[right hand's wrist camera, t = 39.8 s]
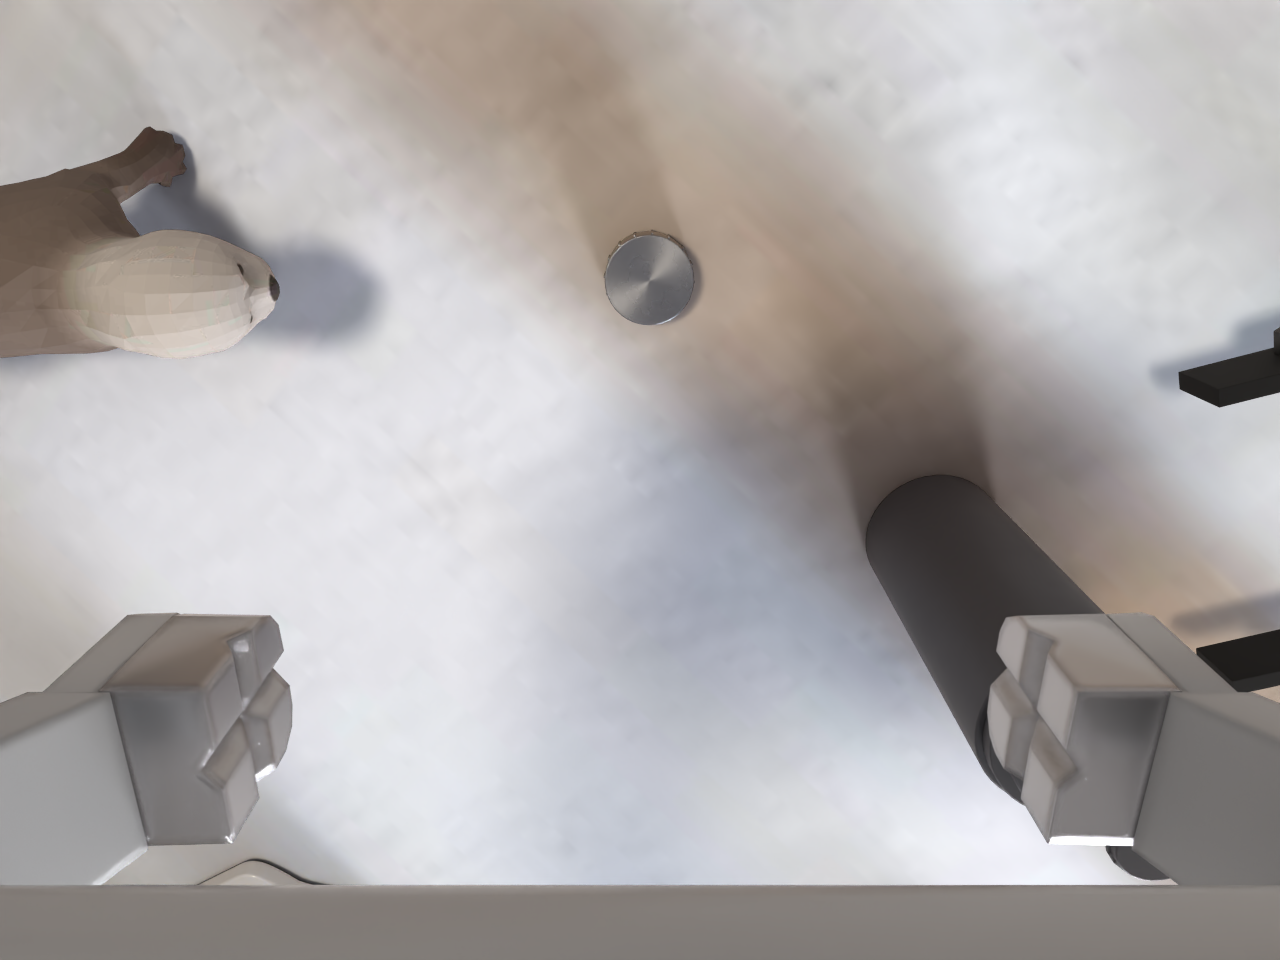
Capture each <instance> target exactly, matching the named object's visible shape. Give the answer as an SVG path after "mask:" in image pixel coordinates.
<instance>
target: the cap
mask: <svg viewBox="0 0 1280 960" xmlns="http://www.w3.org/2000/svg"><path fill="white" fill-rule="evenodd" d="M608 260H609V261H608V264H607V268H606V272H605V274H604V278H605V288H606V294H607V295H608V298H609V300H610V302H611V304H612V305H613V307H614V308H615V310H617V312H618V313H619V314H621V315H622V316H623V317H625V318H626V319H628V320H630V321H632V322H634V323H637V324H642V325H656V324H661V323H664V322H667V321H669V320H671V319H672V318H674V317H675V316H677V315H678V314H679V313H680V312H681V311H682V310H683V309H684V307H685V306H686V305H687V303H688V301H689V300H690V297H691V294H692V290H693V284H694V282H695V281H694V275H693V269H692V265H693V264H692V262H691V260H689V258H688V256H687V254H686V252H685V251H684V247H683V245H680V244H679V243H678V242H677V241H676V240H674V239H673V238H671V237H670V235H669V234H668V235H666V234H663V233H660V232H655V231H653V230H651V231H643V232H638V233H636V232H634V234H632V235H630V236H628V237H627V238H625V239H624V240H622V241H619V244H618V245H617V246H616V248H615V249H614V251H613V252H612V254H611V255H609V257H608Z"/></svg>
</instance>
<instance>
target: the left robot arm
mask: <svg viewBox="0 0 1280 960" xmlns="http://www.w3.org/2000/svg"><path fill="white" fill-rule="evenodd" d="M1179 385H1180V389H1181V390H1183V391H1185V392H1187V393H1189V394H1191V395H1194V396H1196V397H1198V398H1200V399H1202V400H1204V401H1207V402H1209V403H1211V404H1213V405H1215V406H1217V407H1223V406H1227V405H1231V404H1235V403H1239V402H1243V401H1247V400H1251V399H1255V398H1259V397H1263V396H1267V395H1271V394H1275V393H1279V392H1280V328H1278V329H1276V330H1275V331H1274V348H1271V349H1267V350H1263V351H1259V352H1255V353H1251V354H1247V355H1243V356H1240V357H1236V358H1232V359H1228V360H1224V361H1220V362H1216V363H1212V364H1208V365H1204V366H1200V367H1197V368H1193V369H1189V370H1185V371H1181V372H1179ZM1196 653H1197V656H1198V657H1199V658H1201V659H1202V660H1203V661H1204V662H1205V663H1206V664H1207V665H1208V666H1209V667H1210V668H1212V669H1213V670H1214V671H1215V672H1216V673H1217V674H1218V675H1219V676H1220V677H1221V678H1223V679H1224V680H1225V681H1226V682H1227V683H1228V684H1229V685H1230V686H1231V687H1232V688H1233V689H1235V690H1236V691H1237V692H1251V691H1256V690H1260V689H1265V688H1269V687H1274V686H1278V685H1280V629H1279V630H1275V631H1270V632H1266V633H1262V634H1257V635H1253V636H1248V637H1244V638H1240V639H1235V640H1231V641H1226V642H1222V643H1217V644H1213V645H1209V646H1204V647H1200V648H1196Z"/></svg>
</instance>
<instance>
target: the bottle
mask: <svg viewBox="0 0 1280 960" xmlns="http://www.w3.org/2000/svg"><path fill="white" fill-rule="evenodd" d="M866 551H867V556H868V559H869V562H870V565H871V566H872V568H873V570H874V572H875V574H876V576H877V577H878V579H879V581H880V583H881V585H882V586H883V588H884V590H885V592H886V594H887V596H888V597H889V599H890V601H891V603H892V605H893V607H894V608H895V610H896V612H897V614H898V616H899V617H900V619H901V621H902V623H903V625H904V627H905V628H906V630H907V632H908V634H909V636H910V637H911V639H912V641H913V643H914V645H915V647H916V648H917V650H918V652H919V654H920V656H921V658H922V659H923V661H924V663H925V665H926V667H927V668H928V670H929V672H930V674H931V676H932V678H933V679H934V681H935V683H936V685H937V687H938V688H939V690H940V692H941V694H942V696H943V698H944V699H945V701H946V703H947V705H948V707H949V708H950V710H951V712H952V714H953V716H954V718H955V719H956V721H957V723H958V725H959V727H960V729H961V730H962V732H963V734H964V736H965V738H966V739H967V741H968V743H969V745H970V747H971V749H972V750H973V752H974V754H975V756H976V758H977V759H978V761H979V763H980V765H981V767H982V769H983V770H984V772H985V773H986V775H987V776H988V777H989V778H990V780H991V781H992V782H993V783H994V784H996V785H997V786H998V787H999V788H1000V789H1002V790H1003V791H1005V792H1006V793H1007V794H1009V795H1010V796H1011V797H1012V798H1013V799H1015V800H1016V801H1017V802H1019V803H1020V804H1022V805H1024V803H1023V801H1022V799H1021V793H1022V787H1023V781H1022V780H1020V779H1019V778H1017V777H1015V776H1014V775H1012V774H1011V773H1009V772H1007V771H1006V770H1004V768H1003V767H1002V765H1001V763H1000V761H999V759H998V758H997V756H996V754H995V751H994V748H993V745H992V742H991V739H990V735H989V725H988V714H987V709H988V701H989V693H990V685H991V684H992V683H993V682H994V681H995V680H996V679H997V678H998V677H999V676H1000V675H1001V674H1002V673H1003V672H1004V671H1005V670H1006V669H1007V667H1006V665H1005V664H1004V662H1003V661H1002V659H1001V657H1000V656H999V654H998V653H997V651H996V649H997V643H998V638H999V632H1000V629H1001V627H1002V625H1003V623H1004V621H1005V618H1006V617H1012V616H1027V615H1068V614H1105V613H1104V612H1103V611H1102V610H1101V609H1100V608H1099V607H1098V606H1097V605H1096V604H1095V603H1094V602H1093V601H1092V600H1091V599H1090V598H1089V597H1088V596H1087V595H1086V594H1085V593H1084V592H1083V591H1082V590H1081V589H1080V588H1079V587H1078V586H1077V585H1076V584H1075V583H1074V582H1073V581H1072V580H1071V579H1070V578H1069V577H1068V576H1067V575H1066V574H1065V573H1064V572H1063V571H1062V570H1061V569H1060V568H1059V567H1058V566H1057V565H1056V564H1055V563H1054V562H1053V561H1052V560H1051V559H1050V558H1049V557H1048V556H1047V555H1046V554H1045V553H1044V552H1043V551H1042V550H1041V549H1040V548H1039V547H1038V546H1037V545H1036V544H1035V543H1034V542H1033V541H1032V539H1031V538H1030V537H1029V536H1028V535H1027V534H1026V533H1025V532H1024V531H1023V530H1022V529H1021V528H1020V527H1019V526H1018V525H1017V524H1016V523H1015V522H1014V521H1013V520H1012V519H1011V518H1010V517H1009V516H1008V515H1007V514H1006V513H1005V512H1004V511H1003V510H1002V509H1001V508H1000V507H999V506H998V505H997V504H996V503H995V502H994V501H993V500H992V499H991V498H990V497H989V496H988V495H987V494H986V493H985V492H984V491H983V490H982V489H980V488H979V487H978V486H977V485H975V484H973V483H971V482H970V481H967V480H965V479H962V478H958V477H954V476H947V475H934V476H927V477H923V478H919V479H916V480H913V481H910V482H908V483H906V484H904V485H902V486H900V487H899V488H897V489H896V490H894V491H893V492H892V493H891V494H890V495H888V496H887V497H886V498H885V499H884V500H883V502H882V503H881V504H880V505H879V507H878V508H877V509H876V511H875V513H874V514H873V516H872V518H871V521H870V523H869V526H868V530H867V535H866ZM1024 806H1025V805H1024ZM1105 846H1106V851H1107V853H1108V854H1109V856H1110V858H1111V859H1112V861H1113V862H1114V863H1115V864H1116V865H1117V866H1119V867H1120V868H1121V869H1122V870H1124V871H1125V872H1126V873H1127V874H1129V875H1131V876H1133V877H1135V878H1138V879H1141V880H1147V881H1159V880H1165V879H1169V877H1168V876H1166V875H1165V874H1164V873H1162V872H1161V871H1160V870H1158V869H1157V868H1156V867H1154V866H1153V865H1152V864H1150V863H1149V862H1148V861H1146V860H1145V859H1144V858H1142V857H1141V856H1140V855H1138V854H1137V853H1136V852H1134V851H1133V850H1132V846H1126V845H1105Z"/></svg>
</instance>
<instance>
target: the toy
mask: <svg viewBox="0 0 1280 960" xmlns="http://www.w3.org/2000/svg"><path fill="white" fill-rule="evenodd" d="M184 157H185V153H184V149H183V145H181V144H177V143H175V142H174V139H173V136H172V135H171V134H169V133H167V132H165V131H156V130H154V129H153V128H151V127H147V128H145V129H144V130H143V131H142V132H141V133H140V134H139V136H138V137H137V138H136V139H135V140H134V141H133V142H132V143H131V144H130V145H129V147H128V148H127V149H126V150H124V151H123V152H121V153H119V154H116V155H113V156H111V157H108V158H106V159H103V160H100V161H97V162H94V163H91V164H87V165H84V166H80V167H77V168H73V169H70V170H69V169H63V170H61V171H58V172H56V173H54V174H51V175H49V176H46V177H42V178H37V179H32V180H28V181H24V182H19V183H14V184H8V185H3V186H0V358H2V357H16V356H26V355H36V354H77V353H95V352H104V351H110V350H113V349H116V348H121V349H123V350H127V351H132V352H138V353H144V354H148V355H152V356H156V357H160V358H172V359H185V358H191V357H197V356H203V355H207V354H211V353H216V352H221V351H225V350H227V349H228V348H230V347H232V346H233V345H235V344H237V343H238V342H239V341H240V340H241V339H242V338H243V337H244V336H245V335H246V334H248V333H249V332H250V331H251V330H252V329H253V328H254V327H255V326H256V325H257V324H258V323H259V322H261V321H262V320H264V319H265V318H266V317H267V316H268V315H269V314H270V313H271V312H272V311H273V309H274V307H275V303H276V300H277V299H278V297H279V293H280V290H279V285H278V282H277V281H276V279H275V277H274V274H273V273H272V271H271V269H270V267H269V265H268V264H267V263H266V262H265V261H264V260H263V259H262V258H260V257H258V256H256V255H254V254H252V253H250V252H248V251H246V250H243V249H241V248H239V247H237V246H235V245H233V244H231V243H228V242H226V241H224V240H221V239H219V238H216V237H213V236H210V235H206V234H202V233H198V232H192V231H185V230H159V231H154V232H151V233H148V234H145V235H142V236H140V235H139V234H138V232H137V231H136V229H135V228H134V227H133V226H132V225H131V223H130V222H129V221H128V220H127V218H126V216H125V214H124V212H123V210H122V208H121V206H120V203H122V202H123V201H125V200H127V199H128V198H130V197H131V196H133V195H134V194H136V193H137V192H138V191H140V190H141V189H143V188H145V187H146V186H148V185H149V184H152V183H159V184H160V185H162V186H165V187H170V186H171V183H172V177H174V176H177V175H181V174H184V172H185V171H186V169H187V168H186V167H185V165H184V163H183V160H184Z"/></svg>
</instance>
